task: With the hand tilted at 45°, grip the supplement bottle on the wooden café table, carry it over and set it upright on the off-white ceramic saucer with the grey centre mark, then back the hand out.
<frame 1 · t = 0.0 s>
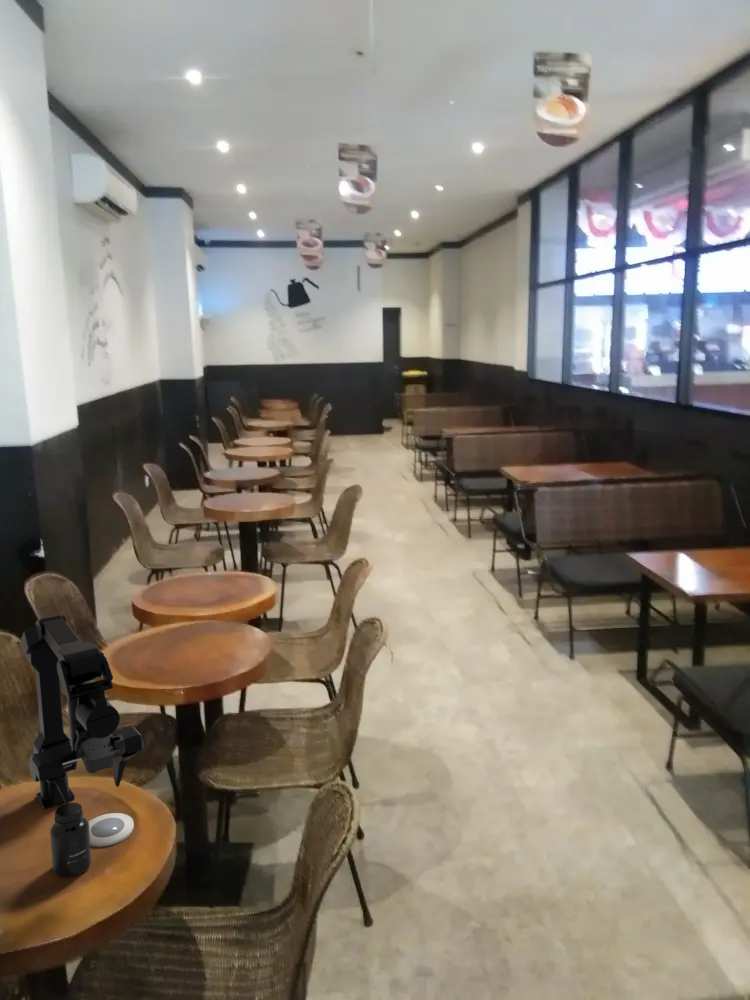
hand: (92, 794, 144), 15 cm above the table, tool pointing down, fingers open, 9 cm apart
saucer: (108, 831, 157), on the table
supplement bottle: (73, 868, 147), on the table
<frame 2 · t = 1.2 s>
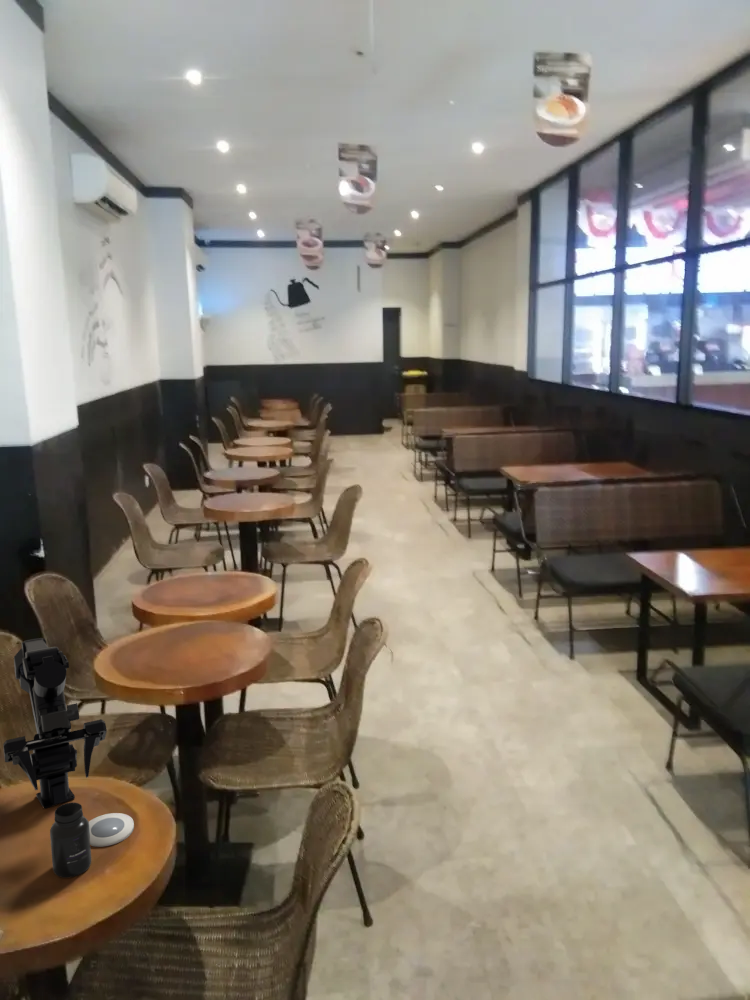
hand: (62, 783, 151), 13 cm above the table, tool tilted 45°, fingers open, 9 cm apart
nothing on the table moved.
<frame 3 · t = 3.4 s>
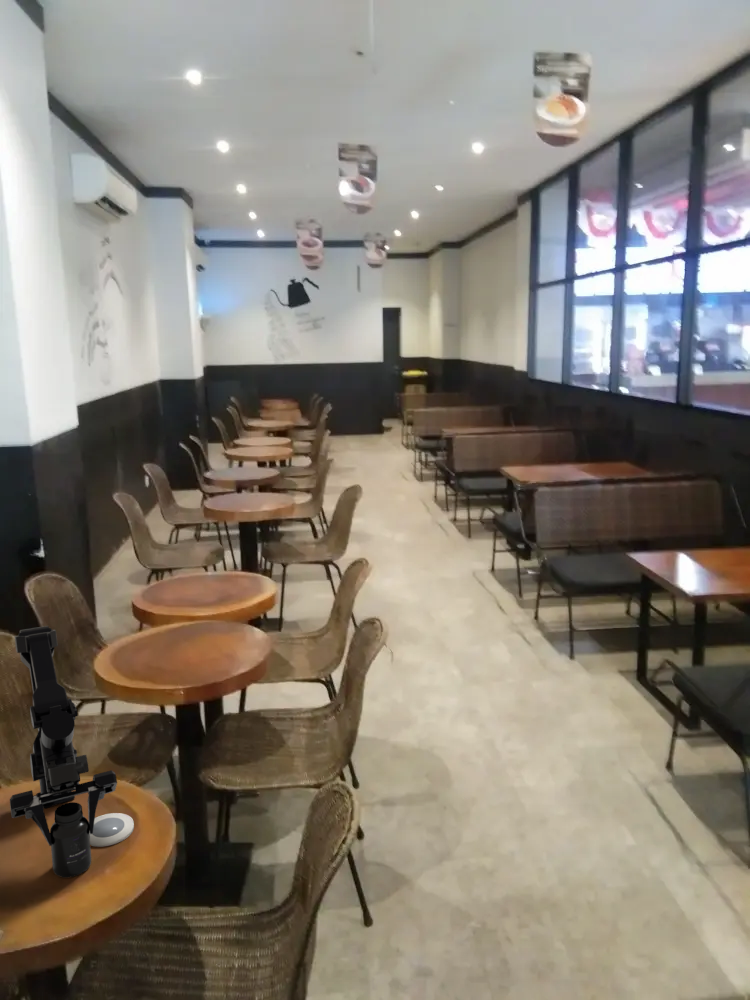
hand: (71, 839, 144), 7 cm above the table, tool tilted 45°, fingers closed on supplement bottle, 7 cm apart
supplement bottle: (73, 867, 147), on the table, touching gripper
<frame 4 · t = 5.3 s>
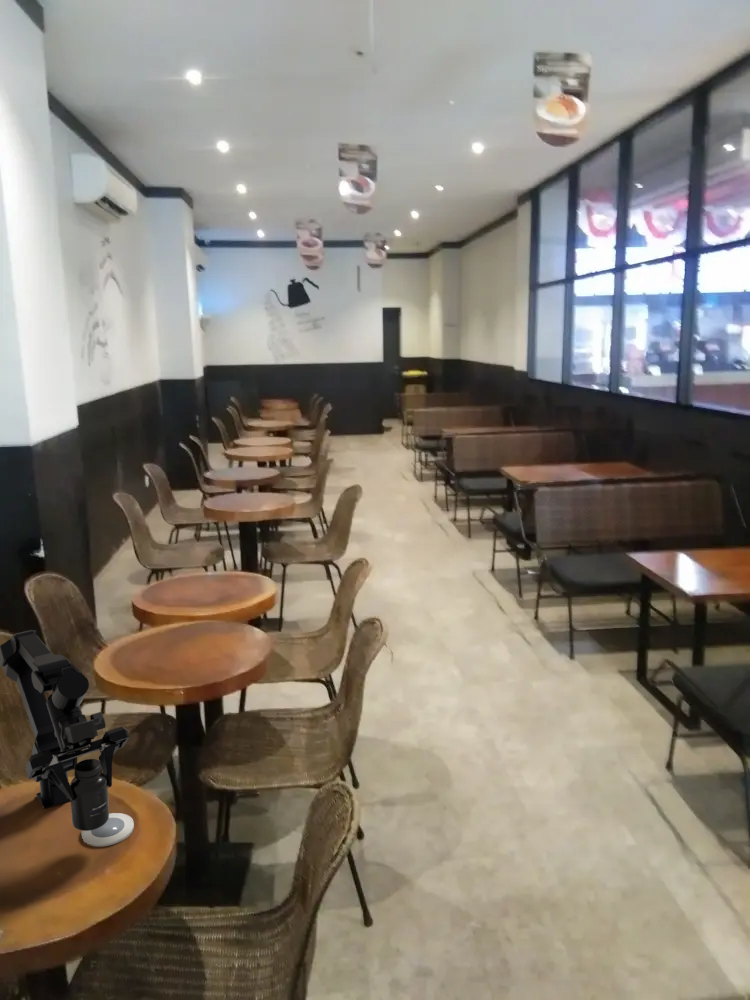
hand: (92, 793, 149), 12 cm above the table, tool tilted 45°, fingers closed on supplement bottle, 7 cm apart
supplement bottle: (91, 822, 151), point 5 cm above the table, touching gripper
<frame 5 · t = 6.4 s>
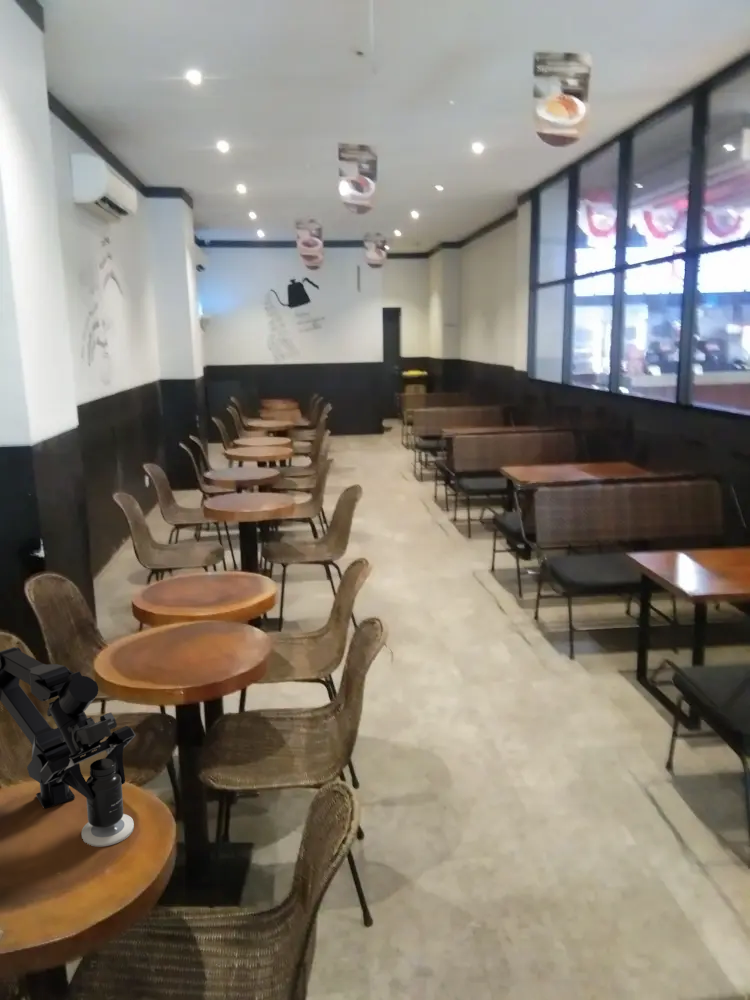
hand: (108, 791, 155), 9 cm above the table, tool tilted 45°, fingers closed on supplement bottle, 7 cm apart
supplement bottle: (106, 819, 157), point 3 cm above the table, touching gripper
when the fingers open (9 cm above the table, at t = 7.1 s): supplement bottle drops 1 cm, resting on saucer.
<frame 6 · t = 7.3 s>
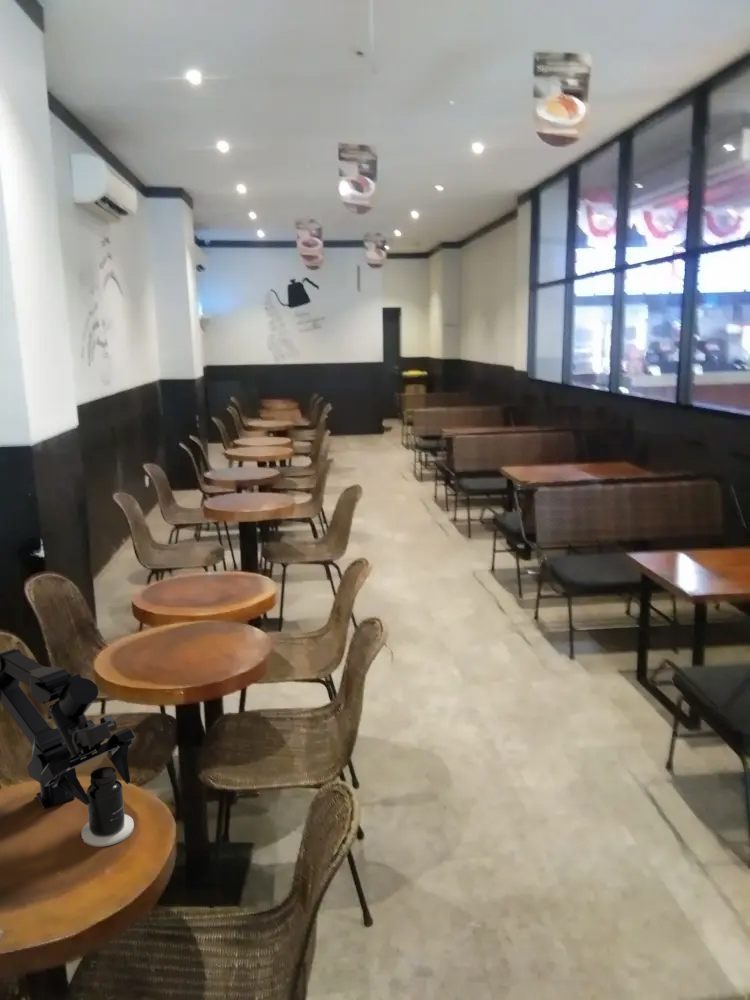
hand: (108, 793, 155), 9 cm above the table, tool tilted 45°, fingers open, 9 cm apart
supplement bottle: (107, 827, 157), point 1 cm above the table, touching saucer
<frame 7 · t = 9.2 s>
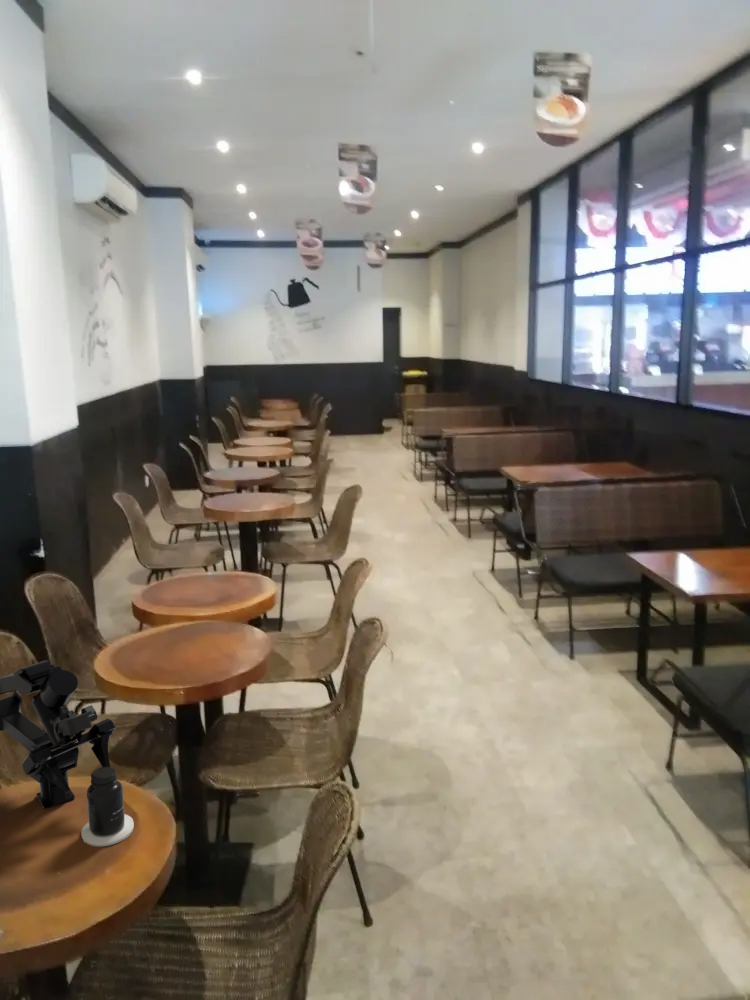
hand: (89, 781, 159), 9 cm above the table, tool tilted 45°, fingers open, 9 cm apart
nothing on the table moved.
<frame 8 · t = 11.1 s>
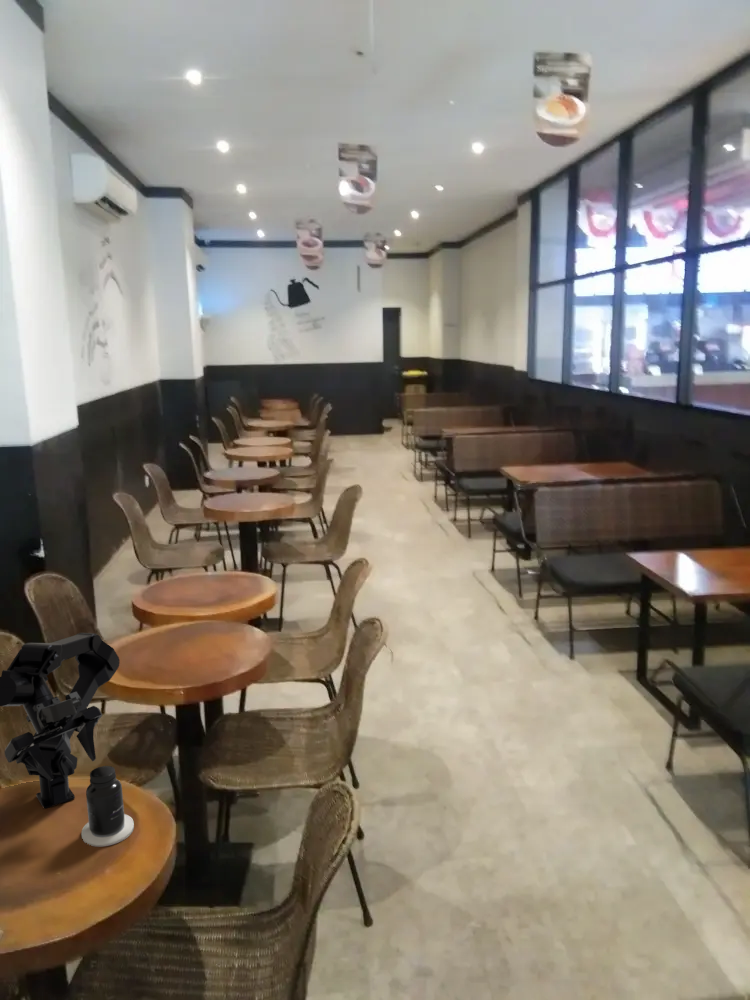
hand: (73, 769, 155), 14 cm above the table, tool tilted 45°, fingers open, 9 cm apart
nothing on the table moved.
at the end: supplement bottle 0.1 cm off-centre on the saucer, point 0.8 cm above the saucer's base; supplement bottle tilted 2°; the gripper is holding nothing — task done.
